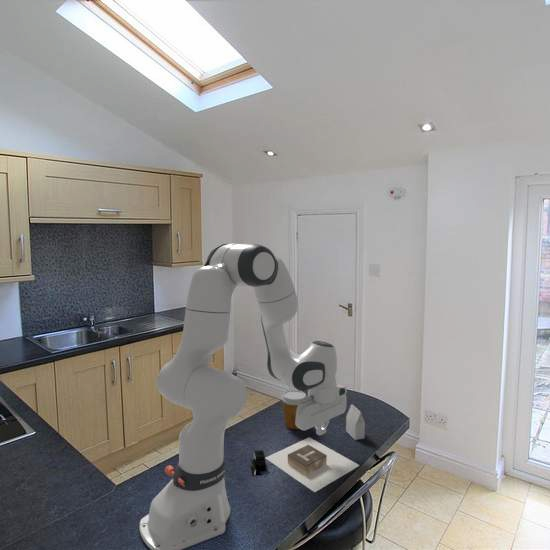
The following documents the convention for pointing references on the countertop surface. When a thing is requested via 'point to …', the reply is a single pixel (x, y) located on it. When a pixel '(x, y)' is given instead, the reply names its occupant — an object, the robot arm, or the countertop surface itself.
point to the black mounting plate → (258, 463)
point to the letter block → (307, 459)
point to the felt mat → (321, 476)
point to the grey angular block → (355, 423)
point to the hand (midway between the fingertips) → (321, 433)
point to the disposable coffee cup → (291, 406)
